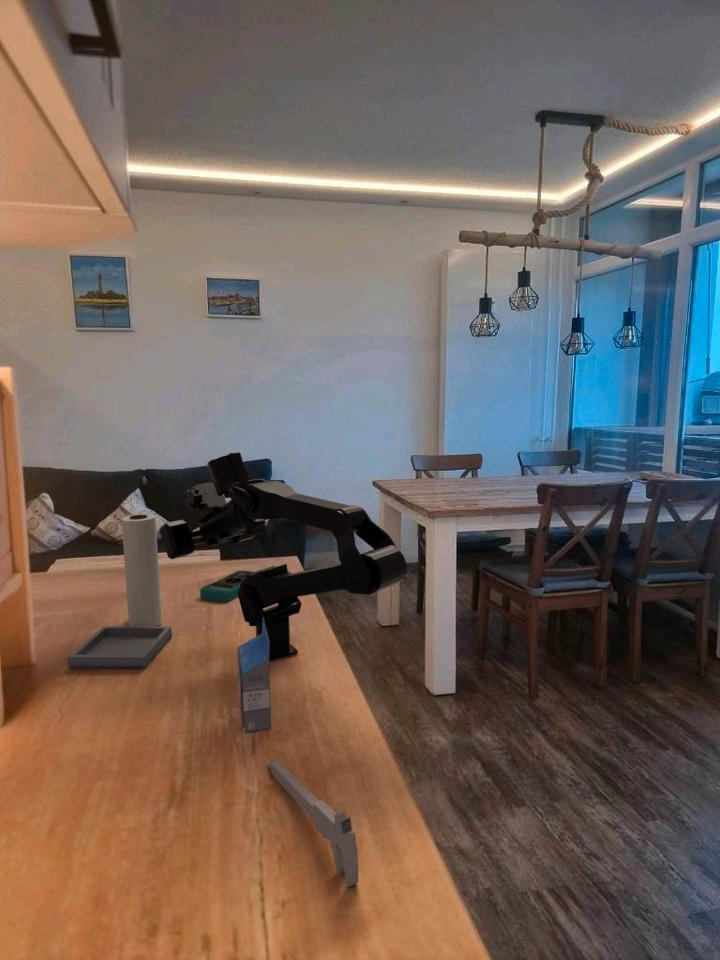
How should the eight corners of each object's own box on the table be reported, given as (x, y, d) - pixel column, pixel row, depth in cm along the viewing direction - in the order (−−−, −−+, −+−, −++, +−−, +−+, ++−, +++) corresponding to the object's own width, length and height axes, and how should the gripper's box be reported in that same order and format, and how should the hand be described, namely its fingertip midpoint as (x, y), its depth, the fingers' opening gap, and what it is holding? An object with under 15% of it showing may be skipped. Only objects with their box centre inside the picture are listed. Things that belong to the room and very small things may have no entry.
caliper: (359, 888, 53) (358, 825, 52) (348, 893, 52) (348, 830, 51) (275, 765, 70) (273, 716, 69) (266, 768, 70) (265, 719, 69)
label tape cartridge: (238, 700, 85) (235, 619, 83) (265, 696, 86) (263, 616, 84) (243, 734, 76) (239, 644, 74) (273, 729, 77) (270, 641, 75)
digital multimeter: (264, 583, 138) (264, 571, 138) (226, 604, 124) (226, 591, 124) (239, 580, 141) (238, 568, 140) (199, 600, 127) (198, 587, 127)
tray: (172, 636, 107) (171, 626, 107) (145, 668, 94) (144, 657, 94) (104, 636, 107) (103, 626, 107) (68, 668, 95) (67, 657, 94)
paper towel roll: (160, 629, 110) (153, 518, 107) (126, 632, 109) (118, 520, 106) (164, 615, 117) (158, 511, 114) (132, 618, 116) (125, 512, 113)
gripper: (257, 470, 112) (213, 499, 121) (172, 483, 97) (130, 514, 107) (277, 525, 110) (231, 549, 120) (193, 545, 96) (149, 571, 105)
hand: (188, 545), depth 113 cm, fingers open, 9 cm apart
